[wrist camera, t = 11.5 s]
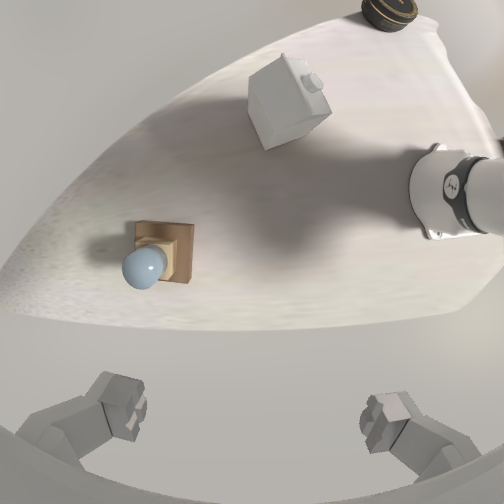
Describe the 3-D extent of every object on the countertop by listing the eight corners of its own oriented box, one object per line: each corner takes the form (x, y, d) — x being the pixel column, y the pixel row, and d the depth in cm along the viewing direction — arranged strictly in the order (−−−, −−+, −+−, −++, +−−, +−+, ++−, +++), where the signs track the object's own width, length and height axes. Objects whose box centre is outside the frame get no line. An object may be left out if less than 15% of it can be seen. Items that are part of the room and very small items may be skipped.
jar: (355, -6, 35) (367, -25, 27) (397, 6, 35) (412, -10, 28) (362, 27, 37) (377, 9, 30) (405, 40, 37) (424, 25, 30)
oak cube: (177, 238, 42) (168, 245, 37) (175, 270, 43) (167, 280, 38) (146, 236, 42) (135, 242, 37) (146, 266, 43) (135, 276, 38)
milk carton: (264, 151, 43) (278, 124, 24) (247, 112, 41) (248, 62, 23) (305, 136, 42) (344, 103, 24) (287, 97, 41) (313, 44, 22)
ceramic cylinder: (168, 245, 37) (157, 254, 33) (167, 279, 38) (157, 291, 34) (136, 242, 37) (121, 250, 32) (136, 275, 38) (122, 286, 33)
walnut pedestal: (194, 224, 45) (190, 226, 42) (191, 277, 47) (187, 283, 44) (142, 220, 44) (135, 222, 42) (141, 272, 46) (135, 277, 43)
